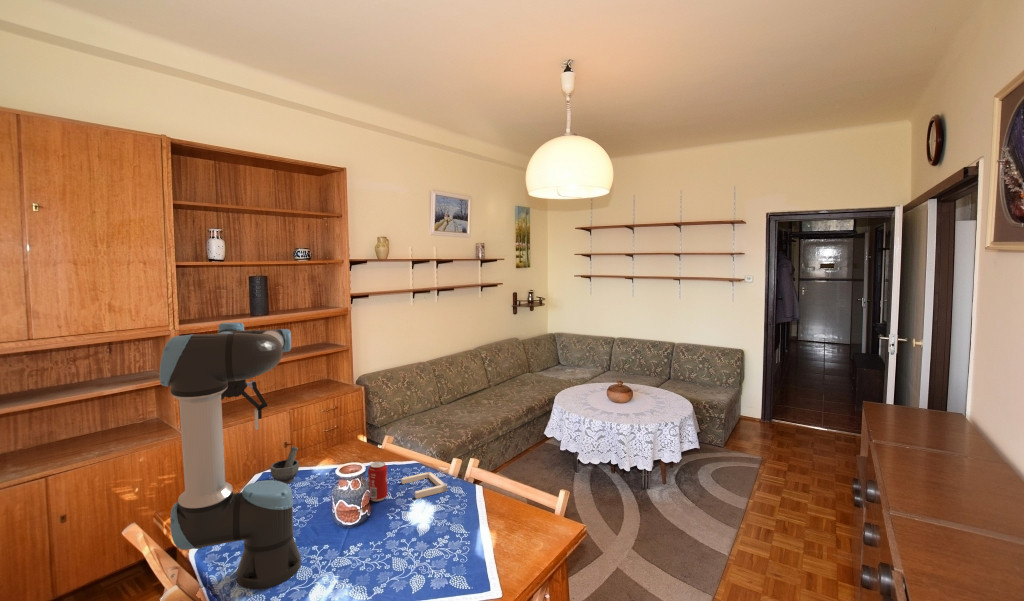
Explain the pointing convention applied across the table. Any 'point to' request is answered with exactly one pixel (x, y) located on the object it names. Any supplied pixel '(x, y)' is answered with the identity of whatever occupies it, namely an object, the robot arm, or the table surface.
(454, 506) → the table surface
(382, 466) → the beverage can
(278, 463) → the mortar and pestle
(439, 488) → the u-shaped wooden frame
